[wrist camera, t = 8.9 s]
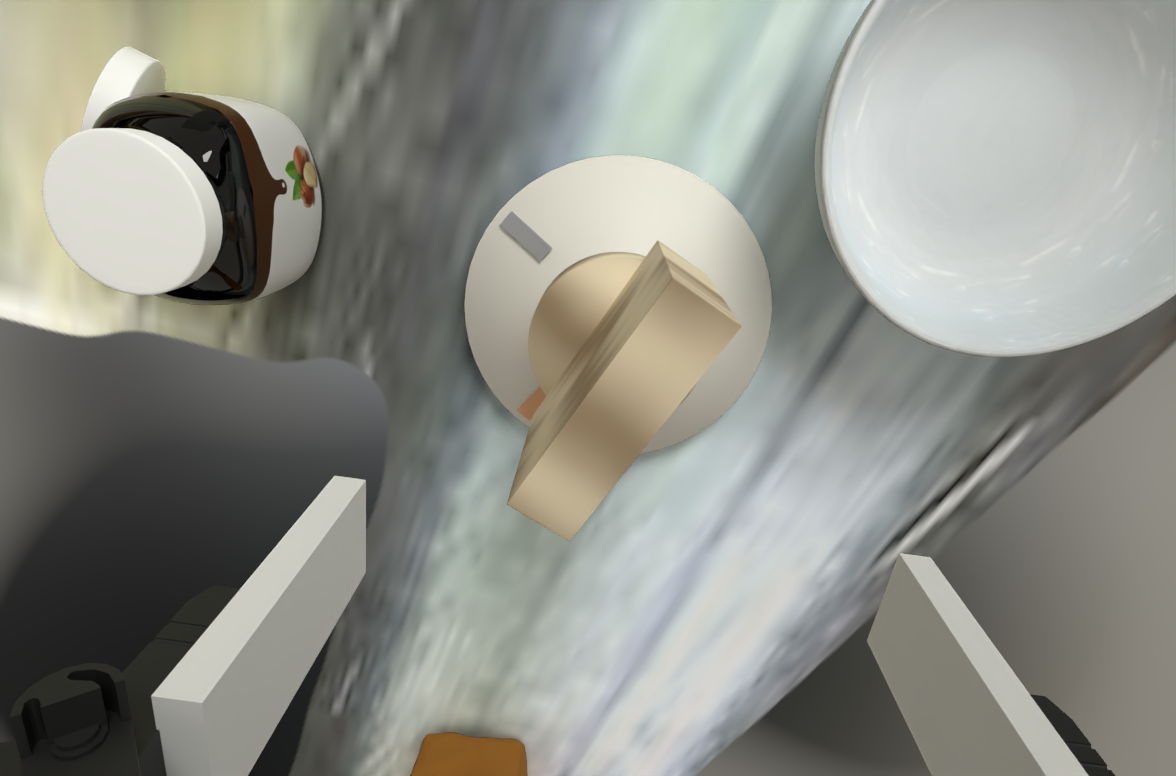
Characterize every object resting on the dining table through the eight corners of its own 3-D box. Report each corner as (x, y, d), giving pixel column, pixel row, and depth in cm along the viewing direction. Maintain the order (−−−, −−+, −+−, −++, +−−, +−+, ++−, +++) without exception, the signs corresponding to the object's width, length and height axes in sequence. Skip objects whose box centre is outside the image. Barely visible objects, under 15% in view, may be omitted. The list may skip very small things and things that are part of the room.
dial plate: (829, 304, 39) (858, 327, 34) (622, 494, 44) (623, 536, 39) (609, 81, 35) (608, 73, 30) (411, 318, 40) (384, 342, 36)
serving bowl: (786, 340, 40) (819, 379, 33) (782, -60, 32) (824, -108, 26) (1146, 303, 38) (1253, 337, 32) (1228, -126, 31) (1390, -195, 24)
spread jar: (336, 283, 40) (230, 338, 29) (153, 268, 40) (-21, 318, 29) (320, 65, 35) (189, 34, 24) (115, 50, 35) (-106, 12, 25)
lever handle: (606, 198, 32) (601, 228, 22) (749, 300, 34) (807, 372, 23) (484, 382, 36) (431, 480, 26) (618, 465, 37) (618, 590, 27)
